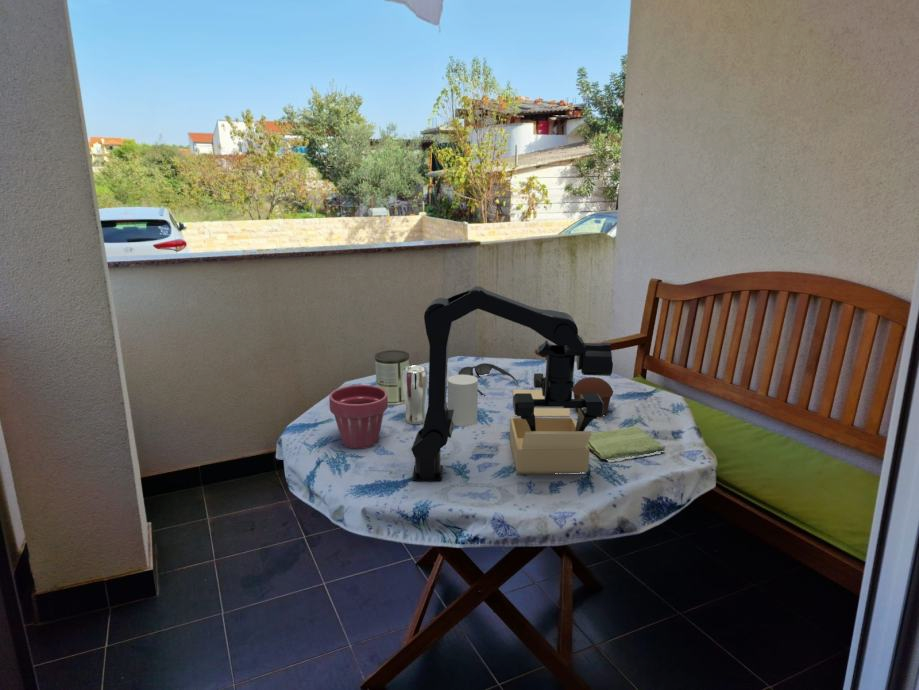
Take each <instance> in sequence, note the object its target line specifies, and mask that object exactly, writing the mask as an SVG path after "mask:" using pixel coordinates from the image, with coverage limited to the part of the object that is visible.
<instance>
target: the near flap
mask: <svg viewBox="0 0 919 690" xmlns="http://www.w3.org/2000/svg"><path fill="white" fill-rule="evenodd" d="M591 433H592V431H588V430H587V431H586V430H584V431H525V435H524V439H523V444H522V449H585V448H586V446H587V443H588V441H589V439H590V436H591Z"/></svg>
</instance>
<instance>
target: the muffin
mask: <svg viewBox="0 0 919 690" xmlns="http://www.w3.org/2000/svg"><path fill="white" fill-rule="evenodd" d="M581 393H597V394H598V395H599V396H600V398H601V400H602V401H603V403H604V415H606V416H607V415H608V413H607V412H608V409H609V405H610V402H611V397H612V396H613V394H614V390H613V387H612V386H611V385H610V384H609V383H608V382H607V381H606V380H604V379H602V378H599V377H594V376H592V377H591V376H590V377H589V376H588V377H583V379H580V380H578V381H577V382H576V383H575V384H573V388H572V394H573V399H580V395H581ZM574 409H575V413H576V412H577V414H578V408H574ZM602 416H603V415H602ZM597 417H601V416H597ZM603 417H604V416H603ZM601 418H602V417H601Z"/></svg>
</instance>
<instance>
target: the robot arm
mask: <svg viewBox="0 0 919 690" xmlns="http://www.w3.org/2000/svg"><path fill="white" fill-rule="evenodd" d="M476 310H481V311H483V312H486V313H488V314H491V315H493V316H496V317H500V318H502V319H505V320H508V321H511V322H512V323H515V324H519V325H520V326H523V327H527V328H529V329H531V330H533V331H535V333H537V334H539V335H540V336H542V337H543V338H544V339H546V340H544V342H543V343H541V344H540V345H539V346H538V347H537V351H538V355H539V356H546V365H545V375H544V374H543V373H541V372H540V373H533V388H535V389H541V390H542V395H543V396H545V397H544V399H533V398H532V395H531V393H516V394H515V395H514V396H512V408H513V414H514V413H515V415H517V416H520V417H519V418H521V419H526V421H527V423H528V425H529V427H530V430H531V431H536V426H535V418H536V417H535V415H534V408H569V409H575V408H578V413H577V419H576V424H577V425H576V430H575V431H586V428H587V427H588V426H589V424H590V423H591V422H592V421H594V420H596V419H598V418H597V416H602V415H604V403H603V401H602V400H601V398H600V396H599V395H598V394H597V393H581V395H580V399H574V398H573V391H572V388H573V387H574V385H575V384H574V375H575V374H574V371H575V370H574V369H575V361H576V371H580V372H581V374H582V375H581V376H596V377H597V376H602V377H603V376H605V377H611V375H612V373H613V367H614V362H613V355H612V354H613V352H612V345H611V343H610V342H601V343H600V342H599V343H595V342H594V343H592V342H585V341H584V340H583V338H582V336H580V335H579V329H578V327H577V323H576V322H575V320H574V318H573V316H572V315H570V314H569V313H567V312H563V311H558V310H552V309H542V308H538V307H537V308H536V307H534V306H530V305H527V304H525V303H522V302H519V301H517V300H514V299H511V298H510V297H509V298H508V297H506V296H503V295H500V294H497V293H495V292H493V291H490V290H487V289H486V288H484V287H482V286H480V285H479V286H478V285H476V286H473V287H471V288H470V289H469V290H467V291H462V292H460V293H457V294H455V295H451V296H450V297H448V298H445V297H438V298H435V299H433V300H432V301H431V302H430V304H429V305H428V307H426V309H425V311H424V315H423V320H424V326H425V328H424V329H425V332H426V333H425V334H426V336H427V340H428V345H429V356H428V361H429V362H428V390H427V397H428V399H427V400H428V401H427V410H426V412H425V413H426V417H425V421H424V423H423V425H422V428H420V429H419V430H418V431H417V434H416V436H415V438H414V442H413V444H412V447H411V449H410V450H411V452H412V454H413V457H414V465H413V467H414V468H413V473H412V481H413V480H414V481H415V482H420V481H421V482H425V481H426V482H427V481H428V482H429V481H430V482H431V481H432V482H435V481H437V482H438V481H439V482H441V481H443V467H444V465H442V464H441V460H442V459H441V458H442V457H441V449H442V448H444V447H445V446H446V444H447V443H448V439H449V438H450V439H451V438H452V436H453V435H452V434H453V430H454V426H455V425H454V424H453V420H452V417H453V413H454V409H452V410H448V403H447V392H448V356H449V340H450V337H451V332H452V328H453V324H454V322H455V321H457V320H459V319H461V318H463V317H464V316H466V315H468V314H470V313H472V312H473V311H476ZM549 341H550V342H551V343H553V344H551V343H550V342H549ZM575 359H576V360H575Z"/></svg>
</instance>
